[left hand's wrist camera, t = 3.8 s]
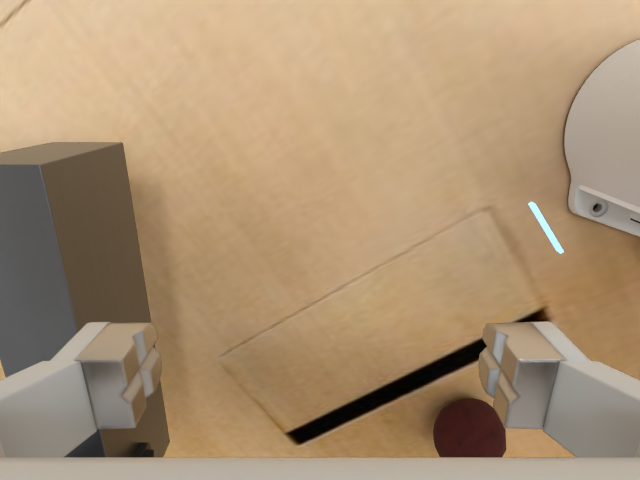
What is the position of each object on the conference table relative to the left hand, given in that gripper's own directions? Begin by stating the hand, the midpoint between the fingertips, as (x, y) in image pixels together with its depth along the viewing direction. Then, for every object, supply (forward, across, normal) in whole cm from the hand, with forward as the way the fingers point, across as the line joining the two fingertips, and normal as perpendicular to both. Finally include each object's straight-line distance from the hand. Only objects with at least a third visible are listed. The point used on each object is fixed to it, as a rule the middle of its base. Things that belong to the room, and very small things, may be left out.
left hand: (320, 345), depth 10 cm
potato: (+29, +16, -29) cm, 44 cm away
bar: (+22, -17, -12) cm, 30 cm away
